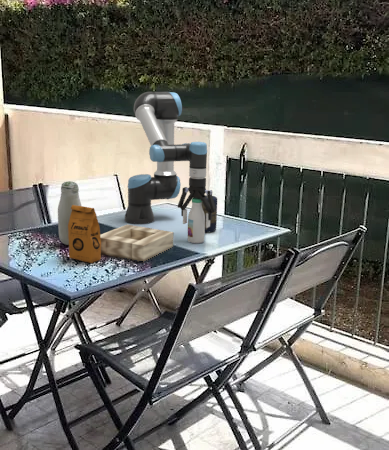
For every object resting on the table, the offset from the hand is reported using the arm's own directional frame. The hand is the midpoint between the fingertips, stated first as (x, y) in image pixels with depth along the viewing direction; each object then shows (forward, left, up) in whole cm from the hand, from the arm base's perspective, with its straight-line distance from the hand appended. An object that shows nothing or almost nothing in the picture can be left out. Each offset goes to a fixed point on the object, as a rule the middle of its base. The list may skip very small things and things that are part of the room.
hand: (196, 225), depth 257 cm
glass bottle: (-44, -34, -8) cm, 56 cm away
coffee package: (-26, -47, -8) cm, 54 cm away
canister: (-4, +19, -8) cm, 21 cm away
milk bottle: (0, 0, -8) cm, 8 cm away
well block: (-16, -26, -8) cm, 31 cm away
